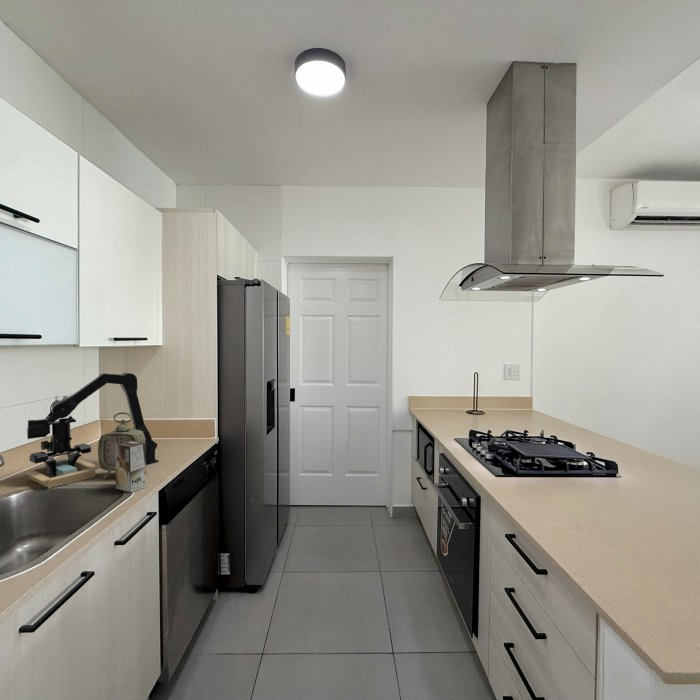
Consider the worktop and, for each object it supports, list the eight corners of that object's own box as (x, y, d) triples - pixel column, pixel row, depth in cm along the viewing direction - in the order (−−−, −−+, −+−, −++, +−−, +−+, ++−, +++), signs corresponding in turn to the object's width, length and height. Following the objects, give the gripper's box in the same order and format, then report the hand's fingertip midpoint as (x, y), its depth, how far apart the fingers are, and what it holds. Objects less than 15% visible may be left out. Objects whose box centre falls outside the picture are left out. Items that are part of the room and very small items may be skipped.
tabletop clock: (98, 480, 153) (97, 414, 152) (111, 472, 162) (110, 410, 161) (137, 479, 153) (136, 414, 153) (148, 472, 162) (147, 410, 162)
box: (80, 479, 154) (79, 464, 154) (60, 484, 149) (60, 469, 149) (65, 472, 162) (64, 459, 162) (45, 477, 156) (45, 463, 156)
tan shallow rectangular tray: (102, 476, 157) (102, 467, 157) (43, 491, 142) (43, 481, 141) (78, 467, 169) (78, 458, 169) (22, 480, 153) (22, 470, 153)
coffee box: (147, 487, 146) (147, 442, 145) (130, 493, 140) (130, 446, 140) (131, 482, 150) (130, 439, 150) (114, 488, 144) (113, 443, 144)
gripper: (79, 428, 168) (79, 465, 168) (23, 436, 152) (24, 477, 153) (91, 431, 161) (92, 470, 162) (35, 440, 146) (35, 483, 146)
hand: (61, 475), depth 156 cm, fingers closed on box, 4 cm apart
